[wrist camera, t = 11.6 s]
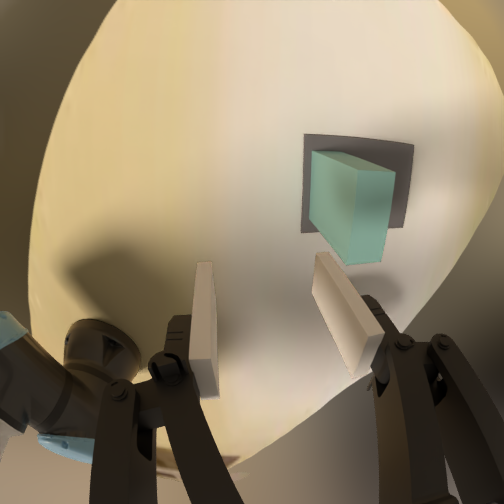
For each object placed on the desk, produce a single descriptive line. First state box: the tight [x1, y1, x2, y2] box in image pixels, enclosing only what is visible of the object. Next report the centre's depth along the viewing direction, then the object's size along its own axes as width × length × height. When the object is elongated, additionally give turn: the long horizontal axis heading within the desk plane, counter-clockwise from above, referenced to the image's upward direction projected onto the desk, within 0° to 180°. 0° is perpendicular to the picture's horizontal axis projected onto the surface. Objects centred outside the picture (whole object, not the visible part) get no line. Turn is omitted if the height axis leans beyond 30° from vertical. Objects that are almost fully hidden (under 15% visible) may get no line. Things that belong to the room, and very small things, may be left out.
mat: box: [301, 134, 414, 233], centre depth 34 cm, size 17×13×1 cm
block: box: [309, 151, 396, 265], centre depth 28 cm, size 4×9×12 cm, turn 1°
